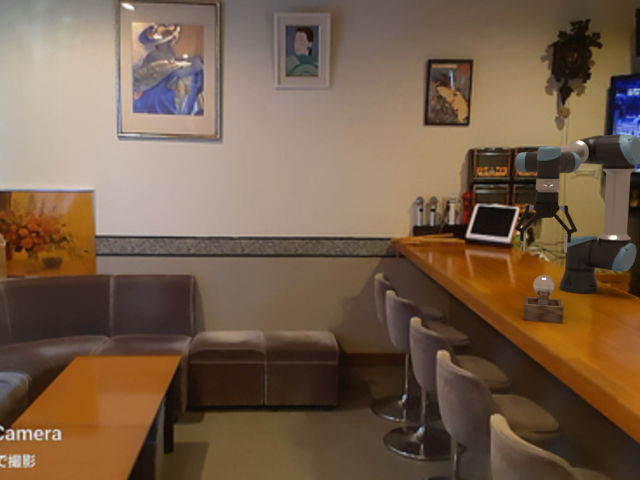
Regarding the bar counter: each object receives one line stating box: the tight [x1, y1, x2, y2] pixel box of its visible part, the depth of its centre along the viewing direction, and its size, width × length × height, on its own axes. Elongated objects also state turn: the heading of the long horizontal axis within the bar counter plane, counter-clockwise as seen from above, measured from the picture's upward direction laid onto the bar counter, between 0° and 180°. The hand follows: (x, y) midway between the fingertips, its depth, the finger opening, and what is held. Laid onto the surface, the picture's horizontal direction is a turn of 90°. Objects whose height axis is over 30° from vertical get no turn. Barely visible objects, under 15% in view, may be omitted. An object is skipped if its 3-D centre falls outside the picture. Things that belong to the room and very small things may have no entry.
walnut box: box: [522, 296, 564, 324], centre depth 207 cm, size 12×12×6 cm
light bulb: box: [532, 274, 555, 306], centre depth 206 cm, size 7×7×12 cm
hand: (544, 251), depth 209 cm, fingers open, 13 cm apart
